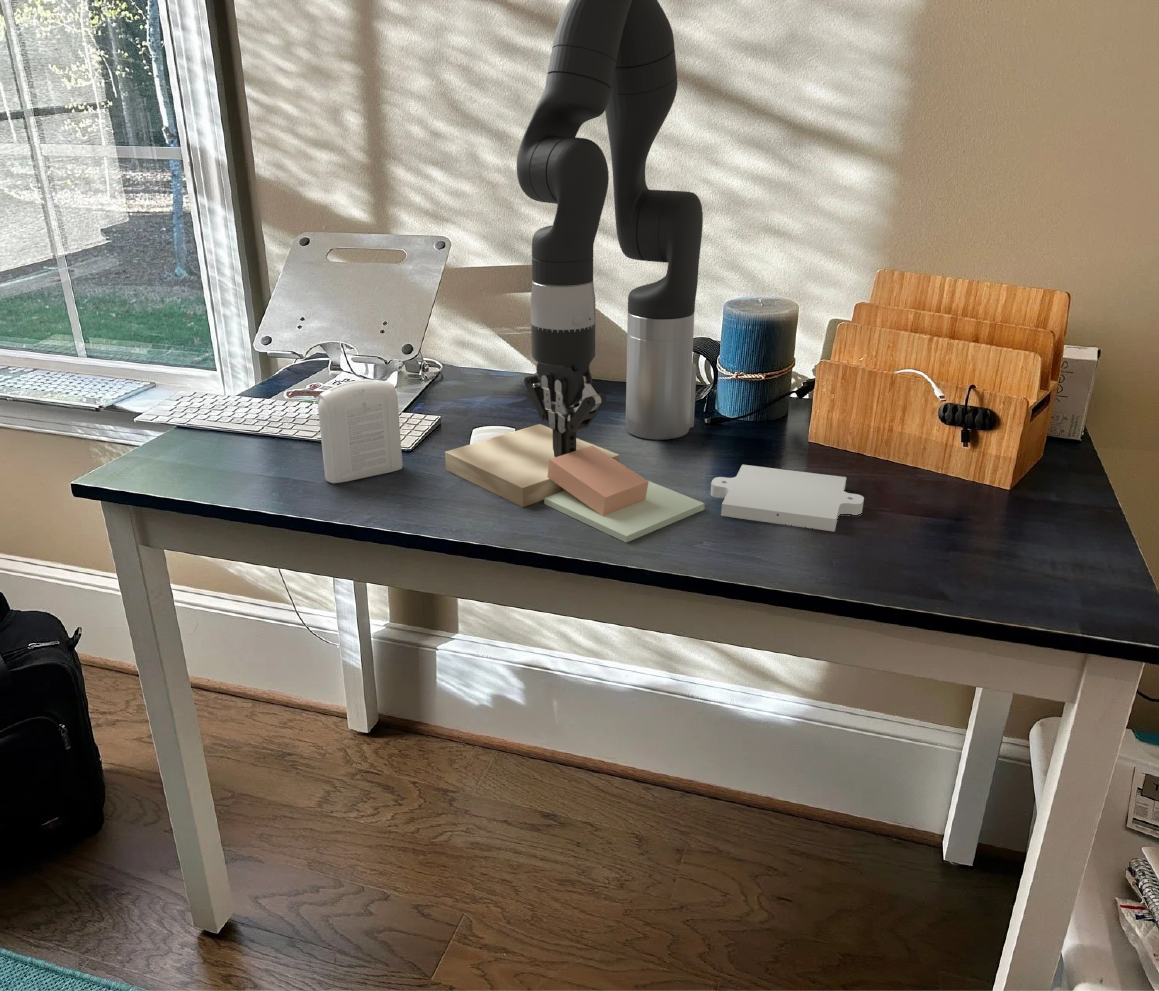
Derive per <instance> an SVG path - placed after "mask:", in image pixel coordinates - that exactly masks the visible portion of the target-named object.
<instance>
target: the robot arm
mask: <svg viewBox="0 0 1159 991" xmlns="http://www.w3.org/2000/svg"><path fill="white" fill-rule="evenodd" d="M552 41H553V42H552V47H551V54H550V58H549V63H548V68H547V75H546V79H545V86H544V90H543V92H542V94H541V96H540V98H539V99H538V102H537V104H536V106H535V109H534V111H533V113H532V115H531V118H530V120H529V122H528V125H527V126H526V129H525V131H524V134H523V136H522V140H521V141H520V144H519V148H518V151H517V156H516V174H517V175H516V177H517V180H518V184H519V186H520V189H521V190H522V192H523V193H524V194H525V195H526V197H528V198H529V199H531V200H534V201H535V202H540V203H550V204H556V205H557V208H556V212H555V215H554V218H553V224H552V225H547V226H546V225H545V226H543V227H541V228H539V229H537V230H536V231H535V232H534V234H533V236H532V241H531V279H532V281H531V282H532V283H531V284H532V285H531V291H530V292H531V293H530V294H531V295H530V329H531V330H530V333H531V334H530V336H531V337H530V339H531V340H530V341H531V357H532V358H533V360H534V361H535V362H537V363H536V365H535V367H536V368H535V369H536V370H535V371H536V372H535V373H533V374H532V375H529V376H526V377H524V380H523V381H524V382H523V383H524V386H525V387H526V389H527V392H528V394H529V396H530V398H531V400H532V403H533V404H534V405H533V406H534V408H535V410H536V411H537V413H538V414H537V415H538V416H539V418H540V420H541V421H542V422H547V423H548V426H549V428H551V429H552V430H553V451H554V457H558V456H561V455H564V454H567V453H571V452H574V451H576V438H577V431H580V430H583V429H586V428H588V427H589V426H590V425H591V423H592V422H593V421H594V419H595V418H596V416H597V415H598V413H600V411H601V409H602V407H604V405H605V403H606V402H607V397H606V395H605V393H597V392H596V391H595V389H594V387H593V386H592V384H593V377H592V374H591V370H590V365H591V363H592V361H593V360H594V359H595V357H596V295H595V287H594V245H595V244H594V243H595V241H596V237H597V233H598V229H599V225H600V222H601V217H602V213H603V209H604V205H605V201H606V197H607V193H608V189H609V178H610V176H609V174H610V173H609V166H608V161H607V158H606V156H605V154H604V152H603V150H602V148H601V147H600V146H599V144H597V143H596V142H595V141H593V140H591V139H588V138H585V137H577V134H578V132H579V131H580V128H581V126H582V125H583V124H584V123H586V122H588V121H590V120H593V119H596V118H599V117H600V116H602V115H603V114H604V113H605V118H606V119H605V120H606V125H607V126H606V127H607V133H608V140H609V141H608V142H609V147H610V156H611V159H610V160H611V166H612V168H611V169H612V170H611V172H612V184H613V185H612V186H613V201H614V216H615V217H614V218H615V228H616V235H617V241H618V245H619V248H620V250H621V252H622V254H623V256H625V257H627V258H628V259H630V260H631V259H632V260H635V261H645V262H652V263H653V262H655V263H667V270H666V275H664V277H662V278H661V279H659V280H657V281H653V282H650V283H647V284H646V283H645V284H644V285H643V284H642V285H640V286H638V287H637V286H636V287H635V288H634V289H633V288H632V290H630V292H629V293H628V296H627V321H626V322H627V324H626V326H627V327H626V328H627V330H626V331H627V332H626V333H627V334H626V336H627V338H626V382H625V383H626V385H625V386H626V387H625V388H626V389H625V390H626V394H625V398H626V399H625V431H626V432H627V433H629V434H630V435H632V436H634V437H637V438H642V439H646V440H670V439H676V438H681V437H683V436H685V435H687V434H688V433H689V431H690V429H691V428H694V425H695V407H696V404H695V403H696V387H697V386H696V385H697V368H698V367H697V364H696V363H694V362H693V357H694V356H693V352H694V330H695V311H696V310H695V309H696V299H697V292H698V291H697V290H698V282H699V280H698V279H699V268H700V267H699V265H700V258H701V257H700V254H701V247H702V245H701V244H702V238H703V237H702V236H703V225H704V223H703V222H704V215H703V214H704V213H703V206H702V203H701V200H700V197H699V196H698V195H697V194H696V193H694V192H691V191H686V190H684V191H683V190H666V189H665V190H664V189H663V190H662V189H649V187H648V186H647V180H646V164H647V159H648V156H649V153H650V150H651V148H652V145H653V143H654V142H655V139H656V137H657V135H658V133H659V132H660V129H661V128H662V126H663V124H664V123H665V120H666V119H667V117H668V115H669V113H670V110H671V109H672V106H673V104H674V102H675V98H676V96H677V91H678V85H679V84H678V70H677V60H676V49H675V38H674V33H673V29H672V26H671V24H670V21H669V19H668V17H667V14H666V12H665V11H664V9H663V6H662V5H660V2H659V1H658V0H569V1H568V3H567V4H566V6H565V8H564V10H563V12H562V15H561V17H560V18H559V21H558V24H557V27H556V29H555V33H554V36H553V40H552Z"/></svg>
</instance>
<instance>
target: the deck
mask: <svg viewBox="0 0 1159 991" xmlns="http://www.w3.org/2000/svg"><path fill="white" fill-rule="evenodd" d="M487 439H488V440H487ZM487 439H484V440H485V441H483V440H480V441H477V442H473V443H470V444H467V445H464V446H459V447H457V448H456V447H455V448H453V449H451V450H446V451H444V458H445V459H444V460H445V470H446V471H448V472H450V473H452V474H454V475H456V476H458V477H460V478H462V479H464V480H466V481H468V482H470V483H472V484H474V485H475V486H479V487H481V488H483V489H485V490H487V491H488V492H490V493H493V494H494V495H497V496H499V497H501V498H503V499H505V500H507V501H509V502H510V503H511V502H512V503H513V504H515V505H517V506H519V507H522V508H524V507H528V506H531V505H533V504H536V503H539V502H541V501H544V498H545V497H548V496H551V495H554V494H557V493H559V492H562V491H565V489H563V488H562V487H561V486H559V485H558V484H556V483H555V482H553V481H552V480H551V479H549V478H548V477H547V476H548V467H549V459H552V458H555V457H554V451H553V430H552V429H551V428H550V426H549V427H548V426H546V425H543V424H541V423H538V424H535V425H532V426H528V427H525V428H522V429H521V428H520V429H518V430H514V431H512V432H508V433H505V434H500V435H497V436H493V437H491V438H487ZM489 439H490V440H489ZM592 445H593V446H594V447H596V448H597V449H599V450H600V451H602V452H603V453H605V454H607V455H608V456H610V457H611V458H613V459H614V460H616V461H618V462H619V463H620V454H618V453H616V452H613V451H611V450H609V449H606V448H603V447H601V446H598V445H595V444H593V443H591V442H587V441H585V440H582V439H581V438H577V437H576V451H577V450H580V449H583V448H586V447H589V446H592Z"/></svg>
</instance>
